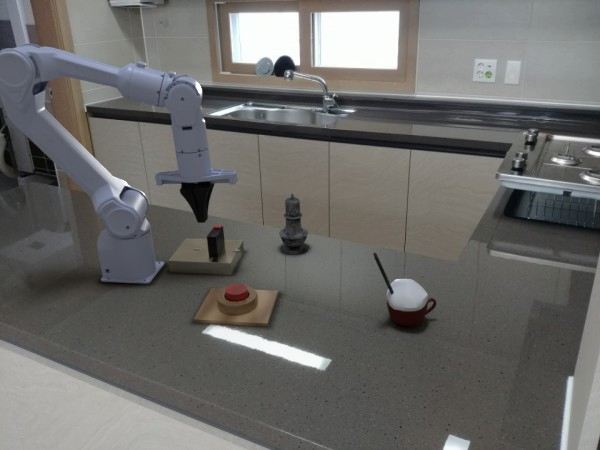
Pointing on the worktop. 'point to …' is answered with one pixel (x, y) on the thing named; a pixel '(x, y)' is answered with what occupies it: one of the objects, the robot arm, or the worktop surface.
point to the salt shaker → (293, 228)
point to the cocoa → (406, 300)
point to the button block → (237, 308)
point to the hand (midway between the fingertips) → (202, 220)
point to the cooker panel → (206, 257)
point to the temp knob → (215, 240)
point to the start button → (236, 292)
